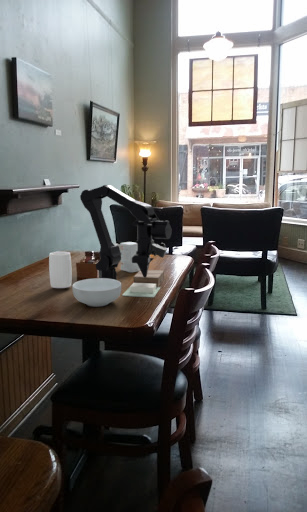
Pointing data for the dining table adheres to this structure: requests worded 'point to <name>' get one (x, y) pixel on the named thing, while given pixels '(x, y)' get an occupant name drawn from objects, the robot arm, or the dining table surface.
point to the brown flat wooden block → (150, 277)
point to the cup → (60, 269)
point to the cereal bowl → (97, 291)
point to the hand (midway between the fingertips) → (145, 276)
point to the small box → (128, 257)
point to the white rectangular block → (143, 287)
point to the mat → (140, 293)
